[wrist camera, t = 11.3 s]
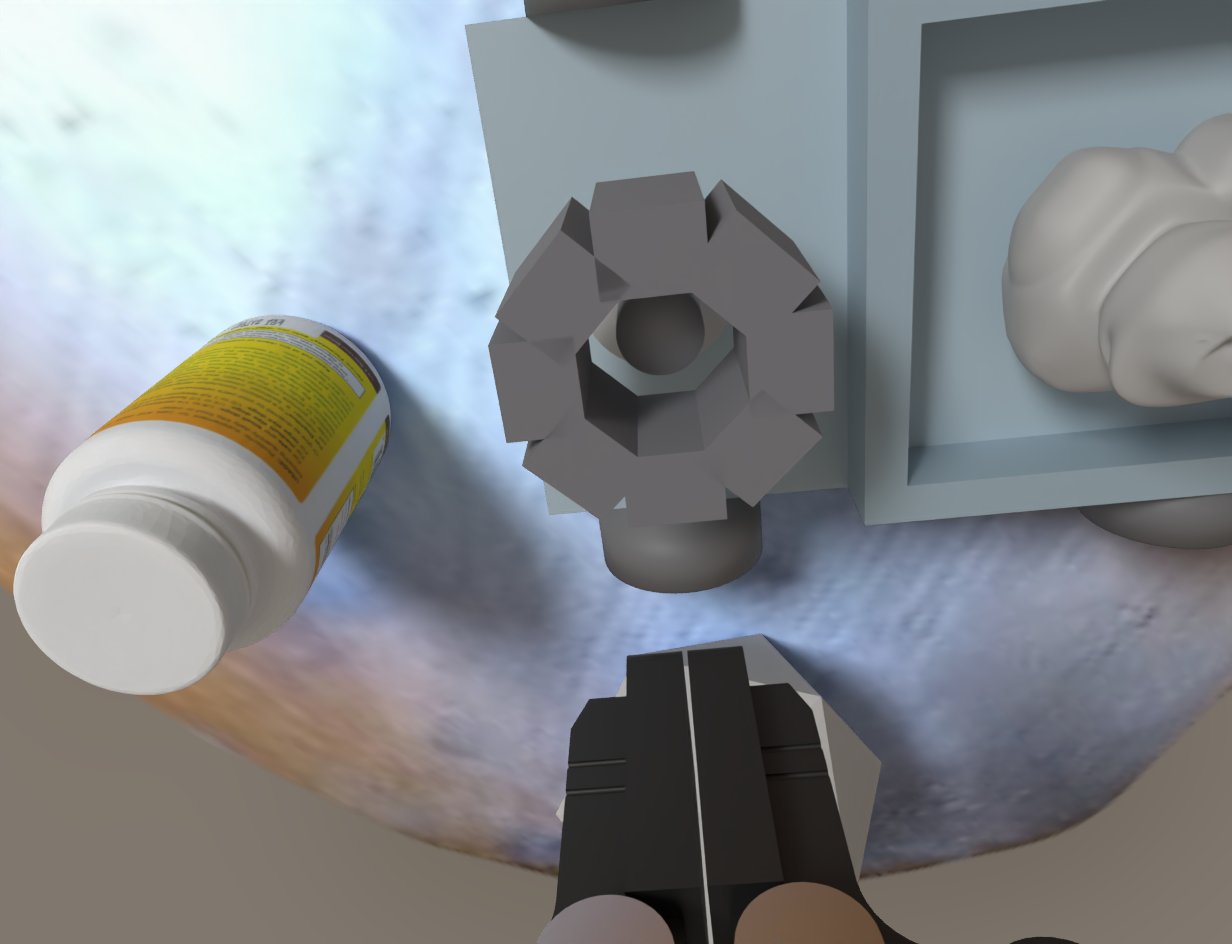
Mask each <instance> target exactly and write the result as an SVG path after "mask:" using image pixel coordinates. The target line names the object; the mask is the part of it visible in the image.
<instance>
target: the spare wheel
mask: <svg viewBox="0 0 1232 944" xmlns="http://www.w3.org/2000/svg"><path fill="white" fill-rule="evenodd" d="M820 282H821V281H820V280H819V278H818V277H817V275H816V274H815V272H814V271H813V270H812V268H811V267H810V265H809V264H808V262H807V261H806V259H805V258H804V256H803V255H802V253H801V252H800V250H799V249H798V247H797V246H796V244H795V243H794V241H793V240H792V239H790V238H789V237H788V236H787V235H786V234H785V233H783V232H782V231H781V230H780V229H779V228H778V227H776V226H775V225H774V224H773V223H772V222H771V221H769V220H768V219H767V218H766V217H765V216H764V215H762V214H761V213H760V212H759V211H758V210H757V209H755V208H754V207H753V206H752V205H751V204H750V203H748V202H747V201H746V200H745V199H744V198H743V197H741V196H740V195H739V194H738V193H737V192H736V191H734V190H733V189H732V188H731V187H730V186H729V185H727V184H726V183H725V182H724V181H723V180H722V179H721V180H720V181H719V182H718V183H717V185H716V186H715V187H714V188H713V189H712V191H711V192H710V193H709V194H708V196H707V197H706V198H705V199H704V197H703V194H702V192H701V189H700V186H699V183H698V180H697V177H696V175H695V172H694V171H690V172H681V173H673V174H664V175H656V176H647V177H639V178H630V179H622V180H614V181H605V182H597V183H596V185H595V189H594V193H593V198H592V202H591V206H590V211H589V210H588V209H587V208H586V207H584V206H583V205H582V204H581V203H579V202H578V201H577V200H576V199H574V198H573V197H571V198H570V200H569V201H568V202H567V204H566V205H565V206H564V208H563V209H562V210H561V212H560V213H559V214H558V216H557V217H556V218H555V220H554V221H553V222H552V224H551V225H550V226H549V228H548V229H547V230H546V232H545V233H544V234H543V236H542V237H541V239H540V240H539V241H538V243H537V244H536V245H535V247H534V248H533V249H532V251H531V252H530V253H529V255H528V256H527V257H526V259H525V260H524V261H523V263H522V264H521V265H520V267H519V268H518V269H517V271H516V272H515V274H514V276H513V278H512V281H511V283H510V285H509V287H508V289H507V291H506V294H505V296H504V298H503V300H502V302H501V305H500V307H499V309H498V311H497V313H496V315H495V317H496V318H497V319H498V320H499V322H498V324H497V327H496V329H495V331H494V334H493V336H492V338H491V340H490V343H489V345H488V347H489V352H490V358H491V363H492V368H493V373H494V379H495V384H496V389H497V394H498V400H499V405H500V410H501V416H502V421H503V426H504V431H505V437H506V442H507V443H511V442H521V441H528V444H527V448H526V452H525V456H524V460H523V464H522V466H523V467H524V468H526V469H527V470H529V471H530V472H532V473H533V474H535V475H536V476H538V477H539V478H540V479H542V480H543V481H545V482H546V483H548V484H549V485H551V486H552V487H553V488H555V489H556V490H558V491H559V492H561V493H562V494H564V495H565V496H566V497H568V498H569V499H571V500H572V501H574V502H575V503H577V504H578V505H579V506H581V507H582V508H584V509H585V510H587V511H588V512H590V513H591V514H592V515H594V516H595V517H597V518H598V519H600V520H601V521H603V520H604V518H605V517H606V516H607V515H608V514H609V513H610V512H611V511H612V510H613V509H614V508H615V506H616V505H617V504H618V503H619V502H620V501H621V500H622V499H623V498H624V497H625V501H626V508H627V516H628V524H629V528H634V527H645V526H657V525H668V524H679V523H690V522H701V521H712V520H723V519H727V507H726V493H725V487H726V488H727V489H729V490H730V491H731V492H733V493H734V494H736V495H737V496H738V497H740V498H741V499H742V500H744V501H745V502H746V503H748V504H749V505H750V506H752V507H754V506H755V505H756V504H757V503H758V502H759V501H760V500H761V499H762V498H763V497H764V496H765V495H766V494H767V493H768V492H769V491H770V490H771V489H772V488H773V487H774V486H775V485H776V484H777V483H778V482H779V481H780V480H781V479H782V478H783V477H784V476H785V475H786V474H787V473H788V472H789V471H790V470H791V469H792V468H793V467H794V466H795V465H796V463H797V462H798V461H799V460H800V459H801V458H802V457H803V456H804V455H805V454H806V453H807V452H808V451H809V450H810V449H811V448H812V447H813V446H814V445H815V444H816V443H817V442H818V441H819V440H820V439H821V438H822V437H823V436H822V433H821V431H820V429H819V426H818V424H817V422H816V419H815V417H814V415H813V413H816V412H826V411H834V335H833V308H832V306H831V305H830V303H829V302H828V300H827V299H826V297H825V295H824V294H823V292H822V291H821V289H820V288H819V286H818V284H819V283H820ZM684 293H693V294H694V295H695V296H697V297H698V298H699V299H700V300H702V301H703V302H704V303H705V304H707V305H708V306H709V307H710V308H711V309H713V310H714V311H715V312H716V313H718V314H719V315H720V316H721V317H723V318H724V319H725V320H726V321H728V322H729V323H730V324H731V325H733V339H734V347H733V349H732V350H731V351H730V352H729V353H728V354H727V355H726V356H725V357H724V359H723V360H722V361H721V362H720V363H719V364H718V365H717V366H716V367H715V369H714V370H713V371H712V372H711V373H710V374H709V375H708V376H707V377H706V379H705V380H704V381H703V382H702V383H701V384H700V385H699V386H698V388H697V389H696V390H690V391H681V392H671V393H661V394H651V395H641V396H637V395H636V394H634V393H633V392H632V391H630V390H629V389H628V388H626V387H625V386H624V385H622V384H621V383H620V382H618V381H617V380H616V379H614V378H613V377H612V376H610V375H609V374H608V373H606V372H605V371H604V370H602V369H601V368H600V367H598V366H597V365H596V364H594V363H593V362H592V359H591V352H590V344H589V337H590V336H591V334H592V333H593V332H594V331H595V330H596V328H597V327H598V326H599V325H600V323H601V322H602V321H603V320H604V319H605V317H606V316H607V315H608V314H609V312H610V311H611V310H612V309H613V307H614V306H615V305H616V304H617V303H618V301H619V300H628V299H638V298H647V297H656V296H665V295H674V294H684Z"/></svg>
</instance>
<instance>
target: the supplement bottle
mask: <svg viewBox="0 0 1232 944" xmlns="http://www.w3.org/2000/svg"><path fill="white" fill-rule="evenodd" d="M390 430H391V410H390V404H389V399H388V395H387V392H386V389H385V387H384V384H383V382H382V380H381V378H380V376H379V374H378V372H377V371H376V369H375V367H374V366H373V365H372V363H371V362H370V361H369V360H368V358H367V357H366V356H365V355H364V354H363V352H362V351H361V350H359V349H358V348H357V347H356V346H355V345H354V344H353V343H352V342H351V341H349V340H348V339H347V338H346V337H344V336H343V335H341V334H340V333H338V332H337V331H335V330H333V329H331V328H329V327H327V326H325V325H323V324H320V323H318V322H315V321H312V320H309V319H305V318H301V317H295V316H287V315H267V316H260V317H255V318H251V319H247V320H244V321H242V322H239V323H237V324H235V325H233V326H231V327H229V328H227V329H226V330H224V331H223V332H221V333H220V334H218V335H217V336H216V337H214V338H213V339H212V340H210V341H209V342H208V343H207V344H206V345H204V346H203V347H202V348H201V349H199V350H198V351H197V352H196V353H194V354H193V355H192V356H191V357H189V358H188V359H187V360H185V361H184V362H183V363H182V364H180V365H179V366H178V367H176V368H175V369H174V370H173V371H171V372H170V373H169V374H168V375H167V376H165V377H164V378H163V379H161V380H160V381H159V382H157V383H156V384H155V385H154V386H153V387H151V388H150V389H149V390H148V391H146V392H145V393H144V394H142V395H141V396H140V397H139V398H137V399H136V400H135V401H134V402H132V403H131V404H130V405H129V406H127V407H126V408H125V409H124V410H123V411H121V412H120V413H119V414H118V415H116V416H115V417H114V418H113V419H111V420H110V421H109V422H108V423H106V424H105V425H104V426H102V427H101V428H100V429H99V430H97V431H96V432H95V433H94V434H93V435H91V436H90V437H89V438H88V439H86V440H85V441H84V442H83V443H81V444H80V445H79V446H78V447H77V448H76V449H75V450H74V451H73V452H72V453H71V454H70V455H69V456H68V457H67V458H66V459H65V460H64V461H63V462H62V463H61V464H60V466H59V467H58V468H57V470H56V471H55V473H54V475H53V477H52V478H51V481H50V483H49V485H48V487H47V490H46V493H45V497H44V500H43V508H42V531H43V534H41V535H40V536H39V537H38V538H37V539H36V540H35V541H34V542H33V543H32V544H31V545H30V546H29V548H28V549H27V550H26V551H25V553H24V554H23V556H22V558H21V559H20V561H19V564H18V566H17V569H16V573H15V578H14V598H15V603H16V607H17V611H18V614H19V616H20V619H21V621H22V623H23V625H24V627H25V629H26V630H27V632H28V634H29V635H30V636H31V638H32V639H33V641H34V642H35V643H36V644H37V645H38V647H39V648H40V649H41V650H42V651H43V652H44V653H45V654H46V655H47V656H48V657H50V658H51V659H52V660H53V661H54V662H55V663H56V664H58V665H59V666H61V667H62V668H63V669H65V670H66V671H68V672H70V673H71V674H73V675H75V676H77V677H79V678H81V679H82V680H84V681H86V682H88V683H91V684H93V685H96V686H98V687H102V688H105V689H108V690H113V691H116V692H121V693H127V694H136V695H157V694H164V693H170V692H174V691H177V690H181V689H183V688H186V687H188V686H190V685H193V684H194V683H196V682H198V681H199V680H201V679H202V678H203V677H205V676H206V675H207V674H209V672H210V671H211V670H212V669H213V668H214V667H215V666H216V665H217V664H218V662H219V661H220V660H221V658H222V657H223V655H224V654H225V652H229V651H233V650H237V649H240V648H244V647H247V646H249V645H252V644H254V643H257V642H259V641H260V640H262V639H264V638H266V637H267V636H269V635H271V634H272V633H274V632H275V631H276V630H278V629H279V628H280V627H281V626H283V625H284V624H285V623H286V622H287V621H288V620H289V619H290V617H291V616H292V615H293V614H294V613H295V611H296V610H297V608H298V607H299V605H300V604H301V603H302V601H303V600H304V598H305V596H306V594H307V593H308V591H309V589H310V587H311V585H312V583H313V582H314V580H315V578H316V576H317V575H318V573H319V571H320V569H321V567H322V566H323V564H324V562H325V560H326V559H327V557H328V555H329V553H330V551H331V550H332V548H333V546H334V544H335V542H336V541H337V539H338V537H339V535H340V533H341V532H342V530H343V528H344V527H345V524H346V523H347V521H348V519H349V517H350V516H351V514H352V512H353V510H354V508H355V506H356V505H357V503H358V501H359V499H360V498H361V496H362V494H363V492H364V490H365V489H366V487H367V485H368V483H369V481H370V479H371V478H372V476H373V474H374V472H375V470H376V468H377V466H378V465H379V463H380V461H381V459H382V457H383V454H384V452H385V450H386V447H387V444H388V440H389V436H390Z"/></svg>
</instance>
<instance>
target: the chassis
mask: <svg viewBox="0 0 1232 944" xmlns="http://www.w3.org/2000/svg"><path fill="white" fill-rule="evenodd" d="M524 5H525V12H526V17H523V18H515V19H507V20H500V21H492V22H485V23H477V24H469V25H465V30H466V35H467V41H468V47H469V53H470V58H471V64H472V70H473V76H474V82H475V87H476V93H477V99H478V105H479V111H480V116H481V122H482V128H483V134H484V139H485V145H486V151H487V157H488V163H489V168H490V174H491V180H492V186H493V192H494V197H495V203H496V209H497V215H498V220H499V226H500V232H501V238H502V244H503V249H504V255H505V261H506V267H507V273H508V278H509V284H510V283H511V281H512V278H513V276H514V274H515V272H516V271H517V269H518V268H519V267H520V265H521V264H522V263H523V261H524V260H525V259H526V257H527V256H528V255H529V253H530V252H531V251H532V249H533V248H534V247H535V245H536V244H537V243H538V241H539V240H540V239H541V237H542V236H543V234H544V233H545V232H546V230H547V229H548V228H549V226H550V225H551V224H552V222H553V221H554V220H555V218H556V217H557V216H558V214H559V213H560V212H561V210H562V209H563V208H564V206H565V205H566V204H567V202H568V201H569V200H570V198H571V197H573V198H574V199H576V200H577V201H578V202H579V203H581V204H582V205H583V206H584V207H586V208H587V209H588V210H589V211H590V206H591V202H592V198H593V193H594V189H595V185H596V183H597V182H605V181H614V180H622V179H630V178H639V177H647V176H656V175H664V174H673V173H681V172H690V171H694V172H695V175H696V177H697V180H698V183H699V186H700V189H701V192H702V194H703V197H704V199H705V198H706V197H707V196H708V194H709V193H710V192H711V191H712V189H713V188H714V187H715V186H716V185H717V183H718V182H719V181H720V180H721V179H722V180H723V181H724V182H725V183H726V184H727V185H729V186H730V187H731V188H732V189H733V190H734V191H736V192H737V193H738V194H739V195H740V196H741V197H743V198H744V199H745V200H746V201H747V202H748V203H750V204H751V205H752V206H753V207H754V208H755V209H757V210H758V211H759V212H760V213H761V214H762V215H764V216H765V217H766V218H767V219H768V220H769V221H771V222H772V223H773V224H774V225H775V226H776V227H778V228H779V229H780V230H781V231H782V232H783V233H785V234H786V235H787V236H788V237H789V238H790V239H792V240H793V241H794V243H795V244H796V246H797V247H798V249H799V250H800V252H801V253H802V255H803V256H804V258H805V259H806V261H807V262H808V264H809V265H810V267H811V268H812V270H813V271H814V272H815V274H816V275H817V277H818V278H819V280H820V281H821V282H820V283H819V284H818V286H819V288H820V289H821V291H822V292H823V294H824V295H825V297H826V299H827V300H828V302H829V303H830V305H831V306H832V308H833V335H834V411H826V412H816V413H813V415H814V417H815V419H816V422H817V424H818V426H819V429H820V431H821V433H822V436H823V437H822V438H821V439H820V440H819V441H818V442H817V443H816V444H815V445H814V446H813V447H812V448H811V449H810V450H809V451H808V452H807V453H806V454H805V455H804V456H803V457H802V458H801V459H800V460H799V461H798V462H797V463H796V465H795V466H794V467H793V468H792V469H791V470H790V471H789V472H788V473H787V474H786V475H785V476H784V477H783V478H782V479H781V480H780V481H779V482H778V483H777V484H776V485H775V486H774V487H773V488H772V489H771V490H770V491H769V492H768V493H767V494H766V495H771V494H782V493H793V492H804V491H815V490H825V489H836V488H847V487H848V489H849V491H850V493H851V496H852V498H853V500H854V503H855V505H856V507H857V509H858V512H859V514H860V516H861V518H862V521H863V523H864V525H865V526H867V525H878V524H889V523H901V522H912V521H923V520H934V519H945V518H957V517H968V516H979V515H990V514H1001V513H1012V512H1024V511H1035V510H1046V509H1057V508H1068V507H1077V508H1078V509H1079V510H1080V512H1081V513H1082V514H1083V515H1084V516H1085V517H1086V518H1088V519H1089V520H1090V521H1092V522H1093V523H1095V524H1096V525H1098V526H1100V527H1101V528H1103V529H1105V530H1107V531H1109V532H1112V533H1114V534H1117V535H1119V536H1122V537H1125V538H1128V539H1131V540H1135V541H1139V542H1143V543H1147V544H1152V545H1157V546H1164V547H1172V548H1185V549H1204V548H1216V547H1224V546H1228V545H1232V398H1224V399H1217V400H1211V401H1205V402H1199V403H1193V404H1186V405H1180V406H1171V407H1144V406H1137V405H1134V404H1131V403H1128V402H1126V401H1125V400H1123V399H1121V398H1120V397H1119V396H1118V395H1117V394H1116V393H1115V391H1102V392H1085V393H1078V392H1067V391H1062V390H1058V389H1055V388H1053V387H1051V386H1049V385H1047V384H1046V383H1044V382H1043V381H1041V380H1040V379H1038V378H1037V377H1036V376H1034V375H1033V374H1032V373H1031V372H1029V371H1028V370H1027V369H1026V368H1025V367H1024V366H1023V365H1022V364H1021V362H1020V361H1019V360H1018V358H1017V356H1016V354H1015V352H1014V350H1013V348H1012V346H1011V343H1010V341H1009V339H1008V338H1007V334H1006V328H1005V321H1004V312H1003V301H1002V273H1003V268H1004V265H1005V262H1006V259H1007V257H1008V248H1009V243H1010V237H1011V233H1012V229H1013V225H1014V222H1015V220H1016V217H1017V215H1018V213H1019V211H1020V210H1021V208H1022V207H1023V205H1024V204H1025V202H1026V201H1027V200H1028V199H1029V197H1030V196H1031V195H1032V194H1033V193H1034V192H1035V190H1036V189H1037V188H1038V187H1039V186H1040V184H1041V183H1042V182H1043V181H1044V180H1045V178H1046V177H1047V176H1048V175H1049V174H1050V173H1051V171H1052V170H1053V169H1054V168H1055V167H1056V165H1057V164H1058V163H1059V162H1060V161H1061V160H1062V159H1063V158H1064V157H1065V156H1067V155H1068V154H1070V153H1071V152H1073V151H1076V150H1079V149H1083V148H1090V147H1117V148H1134V147H1146V148H1151V149H1155V150H1159V151H1163V152H1167V153H1174V151H1175V150H1176V148H1177V147H1178V145H1179V144H1180V143H1181V141H1182V140H1183V139H1184V138H1185V137H1186V136H1187V135H1188V134H1189V133H1190V132H1191V131H1192V130H1193V129H1194V128H1195V127H1197V126H1198V125H1199V124H1201V123H1202V122H1204V121H1206V120H1208V119H1210V118H1212V117H1215V116H1218V115H1222V114H1227V113H1232V0H524ZM589 344H590V352H591V359H592V362H593V363H594V364H596V365H597V366H598V367H600V368H601V369H602V370H604V371H605V372H606V373H608V374H609V375H610V376H612V377H613V378H614V379H616V380H617V381H618V382H620V383H621V384H622V385H624V386H625V387H626V388H628V389H629V390H630V391H632V392H633V393H634V394H636V395H637V396H641V395H651V394H661V393H671V392H681V391H690V390H696V389H697V388H698V386H699V385H700V384H701V383H702V382H703V381H704V380H705V379H706V377H707V376H708V375H709V374H710V373H711V372H712V371H713V370H714V369H715V367H716V366H717V365H718V364H719V363H720V362H721V361H722V360H723V359H724V357H725V356H726V355H727V354H728V353H729V352H730V351H731V350H732V349H733V347H734V339H733V325H731V324H730V323H729V322H728V321H726V320H725V319H724V318H723V317H721V316H720V315H719V314H718V313H716V312H715V311H714V310H713V309H711V308H710V307H709V306H708V305H707V304H705V303H704V302H703V301H702V300H700V299H699V298H698V297H697V296H695V295H694V294H693V293H684V294H674V295H665V296H656V297H647V298H638V299H628V300H619V301H618V303H617V304H616V305H615V306H614V307H613V309H612V310H611V311H610V312H609V314H608V315H607V316H606V317H605V319H604V320H603V321H602V322H601V323H600V325H599V326H598V327H597V328H596V330H595V331H594V332H593V333H592V334H591V336H590V337H589ZM544 487H545V492H546V498H547V504H548V510H549V515H555V514H566V513H577V512H587V510H585V509H584V508H582V507H581V506H579V505H578V504H577V503H575V502H574V501H572V500H571V499H569V498H568V497H566V496H565V495H564V494H562V493H561V492H559V491H558V490H556V489H555V488H553V487H552V486H551V485H549V484H548V483H546V482H545V481H544ZM725 493H726V507H727V519H723V520H712V521H701V522H690V523H679V524H668V525H657V526H645V527H634V528H629V524H628V516H627V508H626V501H625V497H624V498H623V499H622V500H621V501H620V502H619V503H618V504H617V505H616V506H615V508H614V509H613V510H612V511H611V512H610V513H609V514H608V515H607V516H606V517H605V518H604V520H603V521H601V520H600V519H599V523H600V530H601V537H602V544H603V551H604V558H605V562H606V565H607V567H608V569H609V570H610V572H611V573H612V574H613V575H614V576H615V577H617V578H618V579H619V580H621V581H622V582H624V583H626V584H628V585H630V586H633V587H635V588H639V589H642V590H646V591H651V592H659V593H690V592H698V591H703V590H708V589H712V588H715V587H719V586H721V585H724V584H727V583H729V582H731V581H733V580H735V579H737V578H739V577H740V576H742V575H743V574H745V573H746V572H747V571H749V570H750V569H751V568H752V567H753V566H754V565H755V564H756V562H757V561H758V559H759V558H760V555H761V552H762V527H761V508H760V501H759V502H758V503H757V504H756V505H755V506H754V507H752V506H750V505H749V504H748V503H746V502H745V501H744V500H742V499H741V498H740V497H738V496H737V495H736V494H734V493H733V492H731V491H730V490H729V489H727V488H726V487H725Z"/></svg>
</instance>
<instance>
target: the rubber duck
mask: <svg viewBox="0 0 1232 944" xmlns="http://www.w3.org/2000/svg"><path fill="white" fill-rule="evenodd" d="M1002 301H1003V312H1004V321H1005V328H1006V334H1007V338H1008V339H1009V341H1010V343H1011V346H1012V348H1013V350H1014V352H1015V354H1016V356H1017V358H1018V360H1019V361H1020V362H1021V364H1022V365H1023V366H1024V367H1025V368H1026V369H1027V370H1028V371H1029V372H1031V373H1032V374H1033V375H1034V376H1036V377H1037V378H1038V379H1040V380H1041V381H1043V382H1044V383H1046V384H1047V385H1049V386H1051V387H1053V388H1055V389H1058V390H1062V391H1067V392H1078V393H1085V392H1102V391H1115V393H1116V394H1117V395H1118V396H1119V397H1120V398H1121V399H1123V400H1125V401H1126V402H1128V403H1131V404H1134V405H1137V406H1144V407H1171V406H1180V405H1186V404H1193V403H1199V402H1205V401H1211V400H1217V399H1224V398H1232V113H1227V114H1222V115H1218V116H1215V117H1212V118H1210V119H1208V120H1206V121H1204V122H1202V123H1201V124H1199V125H1198V126H1197V127H1195V128H1194V129H1193V130H1192V131H1191V132H1190V133H1189V134H1188V135H1187V136H1186V137H1185V138H1184V139H1183V140H1182V141H1181V143H1180V144H1179V145H1178V147H1177V148H1176V150H1175V151H1174V153H1167V152H1163V151H1159V150H1155V149H1151V148H1146V147H1134V148H1117V147H1090V148H1083V149H1079V150H1076V151H1073V152H1071V153H1070V154H1068V155H1067V156H1065V157H1064V158H1063V159H1062V160H1061V161H1060V162H1059V163H1058V164H1057V165H1056V167H1055V168H1054V169H1053V170H1052V171H1051V173H1050V174H1049V175H1048V176H1047V177H1046V178H1045V180H1044V181H1043V182H1042V183H1041V184H1040V186H1039V187H1038V188H1037V189H1036V190H1035V192H1034V193H1033V194H1032V195H1031V196H1030V197H1029V199H1028V200H1027V201H1026V202H1025V204H1024V205H1023V207H1022V208H1021V210H1020V211H1019V213H1018V215H1017V217H1016V220H1015V222H1014V225H1013V229H1012V233H1011V237H1010V243H1009V248H1008V257H1007V259H1006V262H1005V265H1004V268H1003V273H1002Z"/></svg>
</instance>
